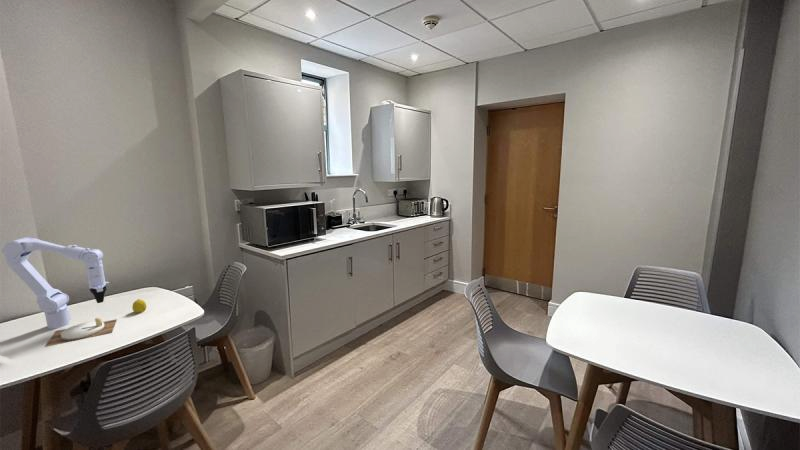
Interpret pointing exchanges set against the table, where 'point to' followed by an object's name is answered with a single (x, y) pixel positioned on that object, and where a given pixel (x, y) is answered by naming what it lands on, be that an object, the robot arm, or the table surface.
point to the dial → (83, 330)
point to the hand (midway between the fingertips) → (100, 302)
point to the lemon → (139, 306)
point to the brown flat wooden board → (58, 340)
